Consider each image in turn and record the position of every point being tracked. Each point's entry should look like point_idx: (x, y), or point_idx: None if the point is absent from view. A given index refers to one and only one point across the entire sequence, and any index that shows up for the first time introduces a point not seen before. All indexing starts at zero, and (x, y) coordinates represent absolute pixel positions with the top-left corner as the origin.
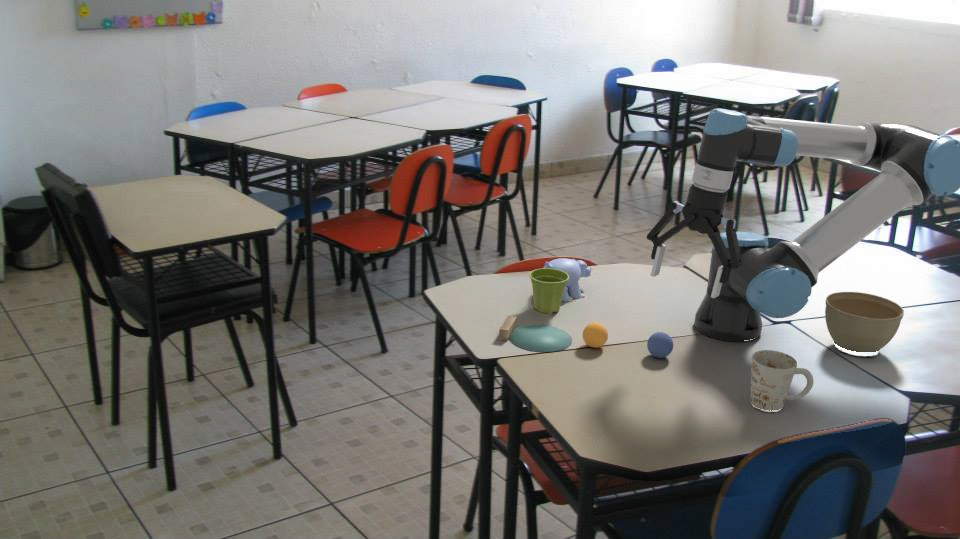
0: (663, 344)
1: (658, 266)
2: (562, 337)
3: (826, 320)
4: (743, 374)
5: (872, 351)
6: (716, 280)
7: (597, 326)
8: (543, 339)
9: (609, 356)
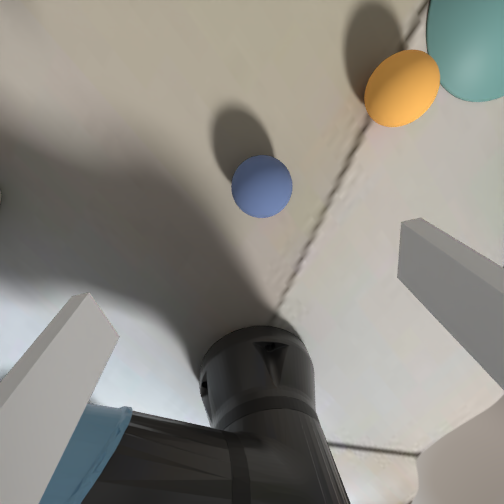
0: (242, 171)
1: (432, 280)
2: (460, 64)
3: None
4: (107, 262)
5: None
6: (20, 374)
7: (412, 74)
8: (493, 5)
9: (328, 83)
